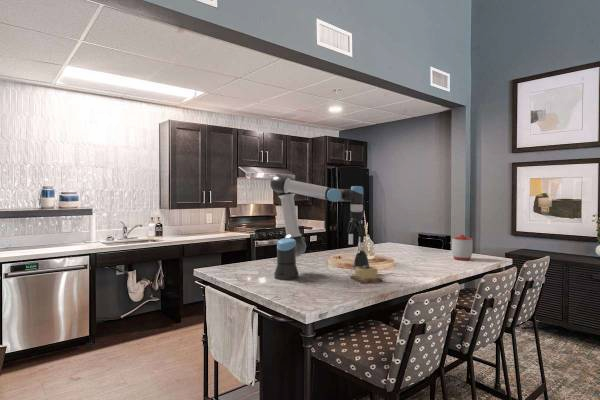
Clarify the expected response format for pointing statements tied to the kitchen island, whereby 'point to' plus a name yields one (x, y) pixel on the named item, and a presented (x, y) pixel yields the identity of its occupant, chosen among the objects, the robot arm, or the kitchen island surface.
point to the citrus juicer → (462, 247)
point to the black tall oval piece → (360, 259)
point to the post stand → (366, 280)
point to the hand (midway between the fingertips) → (355, 246)
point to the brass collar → (366, 273)
